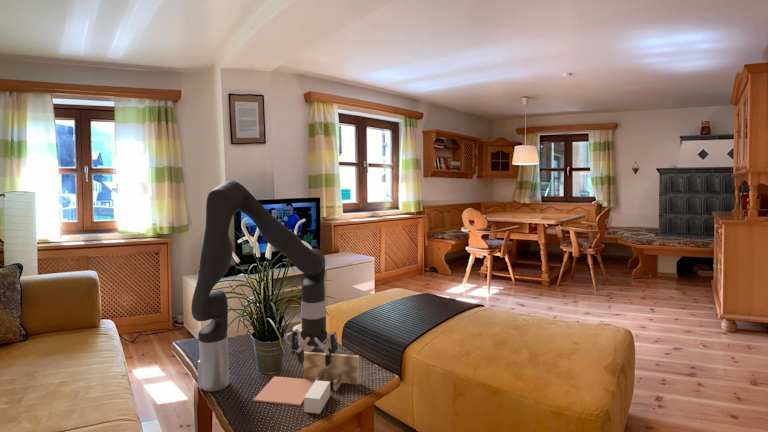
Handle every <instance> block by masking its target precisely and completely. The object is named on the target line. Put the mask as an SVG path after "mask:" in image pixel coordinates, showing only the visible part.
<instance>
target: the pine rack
mask: <svg viewBox="0 0 768 432" xmlns="http://www.w3.org/2000/svg"><path fill="white" fill-rule="evenodd" d="M325 355H326V353H325V352H313V351H310V352H304V362H303V363H302V364H303V379H310V380H315V381H316V380H318V381H329V382H330V383H332V384H333V388H332V389H333V392H334V391H335V393H336V391H337V392H338V391H339V388H340V387H341V385H342V384H346V383H347V384H348V385H357V384H358V386H359V385H360V355H353V354H344V353H343V354H339V353H334V354H333V353H332V354H331V358H332V361H331V363H330V364H329V366H326V364H325Z"/></svg>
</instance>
